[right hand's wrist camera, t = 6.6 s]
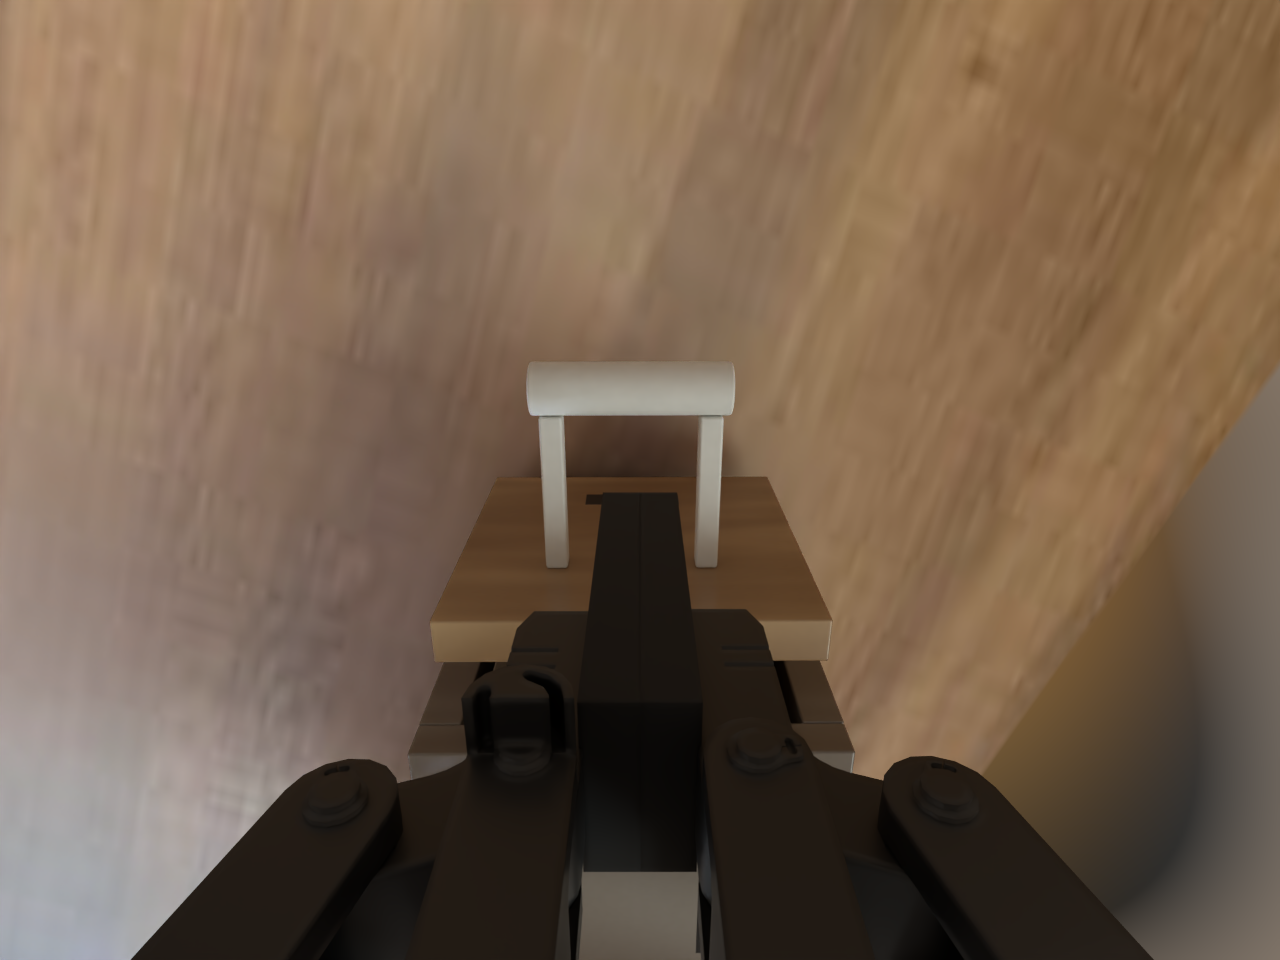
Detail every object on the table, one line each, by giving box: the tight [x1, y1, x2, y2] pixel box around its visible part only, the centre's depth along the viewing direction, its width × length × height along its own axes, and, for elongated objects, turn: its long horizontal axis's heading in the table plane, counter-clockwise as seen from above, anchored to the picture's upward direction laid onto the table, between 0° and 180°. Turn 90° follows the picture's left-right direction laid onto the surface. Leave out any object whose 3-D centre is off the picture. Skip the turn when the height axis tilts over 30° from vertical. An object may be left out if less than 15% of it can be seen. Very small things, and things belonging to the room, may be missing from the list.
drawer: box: [430, 361, 832, 671], centre depth 24 cm, size 21×10×10 cm, turn 0°
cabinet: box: [408, 660, 855, 960], centre depth 26 cm, size 17×11×12 cm, turn 0°
